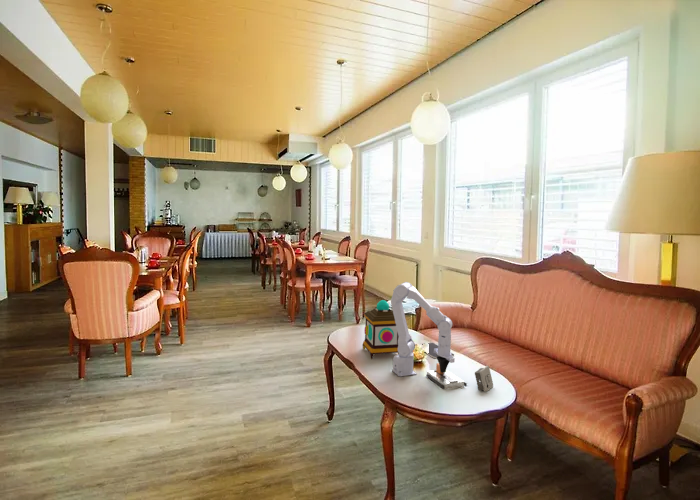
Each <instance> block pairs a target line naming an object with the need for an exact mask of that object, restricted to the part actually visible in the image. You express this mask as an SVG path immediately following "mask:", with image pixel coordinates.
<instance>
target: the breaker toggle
mask: <svg viewBox="0 0 700 500" xmlns="http://www.w3.org/2000/svg"><path fill="white" fill-rule="evenodd" d="M435 366H436V367H435V368H436V369H435V370H436V372H438V373H439V374H442V373H441V370H440V365H439V362H438V363H437V362H436V365H435Z"/></svg>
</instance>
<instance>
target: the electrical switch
mask: <svg viewBox="0 0 700 500" xmlns="http://www.w3.org/2000/svg"><path fill="white" fill-rule="evenodd" d="M474 376H475V381H476V385H477V389H478V391H483V392H484V393H487V392H488V391H490V389H491V388H492V387H494V382H493V378H492V373H491V369H490V366H489V365H486V366H485V367H480V368H478V370H476V371H474Z"/></svg>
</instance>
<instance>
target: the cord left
mask: <svg viewBox="0 0 700 500" xmlns="http://www.w3.org/2000/svg"><path fill="white" fill-rule="evenodd" d="M425 375H426V376H425V377H426V378H427V379H429V380H431V381H432V382H433V383H434V384H435V385H437V386H439V387H440V388H441V389H444V386H443V385H441V384H440V383H439V382H437V381H436V380H435V379H433V378H432V377H431V376H429V375H428V374H427V373H426V374H425ZM444 390H445V389H444Z"/></svg>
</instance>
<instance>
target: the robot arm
mask: <svg viewBox="0 0 700 500" xmlns="http://www.w3.org/2000/svg"><path fill="white" fill-rule="evenodd" d="M405 299H410V300H414V301H415V302H416V303H417V304H418V305H419V306H420V307H421V308H423V310H425V312H426V316H427V317H428V318H429V319H430V320H431V321H432V322H433V323H434V324H435V325H436V326H437V329H438V335H437V337H438V341H437V342H438V343H437V345H438V348H435V349H434V353H437V355H438V356H439V357H437V358H436V360H437V362H438V363H439V365H440V370H441V373H445V372H446V370H447V367H448V366H449V364H450V363H451V364H452V363H455V359H456V358H455V357H454V356H452V354H453V352H451V347H452V346H451V345H452V344H451V343H452V330H451V329H452V327H453V321H452V319H451V318H450V317H448V316H447V315H445V314H444V313H442V312H441V311H440V307H437V306H435V305H432V304H430V303H429V302H428V301H427V300H426V299H425V298H424V297H423V295H422V294H421V293H420V291H418V290H417V288H416V287H415V286H413V285H412V283H411V282H408V281H404V282H402V283H400V284H397V286H396V287H395V288H393V292H392V296H391V299H390V304H391V305H390V306H391V310H392V312H393V314H394V318H395V323H396V327H397V332H398V336H399V338H398V353H399V354H398V353H397V355H394V356H393V359H392V369H391V371H392V372H393V373H394V374H396V376H398V377H407V376H414V375H417V372H415V371H414V358H415V357H414V350H415V349H416V347H415V345H416V344H415V341H414V340H413V337H412V336H411V334H410V333H409V332H410V331H409V327H408V323H407V319H406V314H405V310H404V307H403V302H404V300H405Z"/></svg>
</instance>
